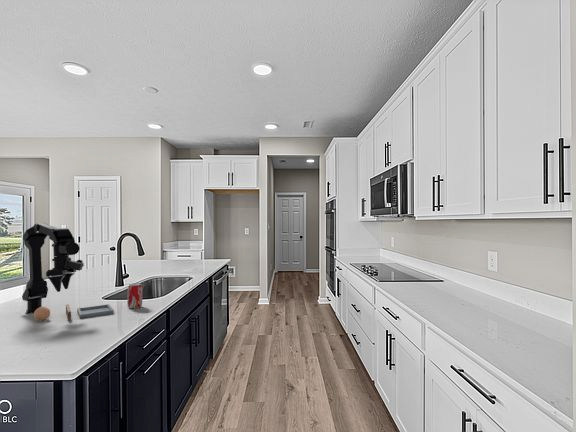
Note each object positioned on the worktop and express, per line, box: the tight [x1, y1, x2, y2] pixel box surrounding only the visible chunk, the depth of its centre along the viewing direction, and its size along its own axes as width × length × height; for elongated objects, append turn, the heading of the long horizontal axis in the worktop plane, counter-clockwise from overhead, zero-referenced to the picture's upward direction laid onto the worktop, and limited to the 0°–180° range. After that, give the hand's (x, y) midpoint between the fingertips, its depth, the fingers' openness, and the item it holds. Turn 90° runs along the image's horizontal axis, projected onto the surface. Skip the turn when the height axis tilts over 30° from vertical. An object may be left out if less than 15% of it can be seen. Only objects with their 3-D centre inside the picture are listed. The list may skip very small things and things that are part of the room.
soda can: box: [126, 282, 143, 309], centre depth 175 cm, size 7×7×12 cm
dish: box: [76, 303, 115, 320], centre depth 165 cm, size 14×14×2 cm
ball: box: [33, 306, 51, 322], centre depth 152 cm, size 6×6×6 cm
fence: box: [65, 304, 72, 322], centre depth 158 cm, size 16×1×4 cm, turn 36°
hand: (62, 290), depth 153 cm, fingers open, 9 cm apart
